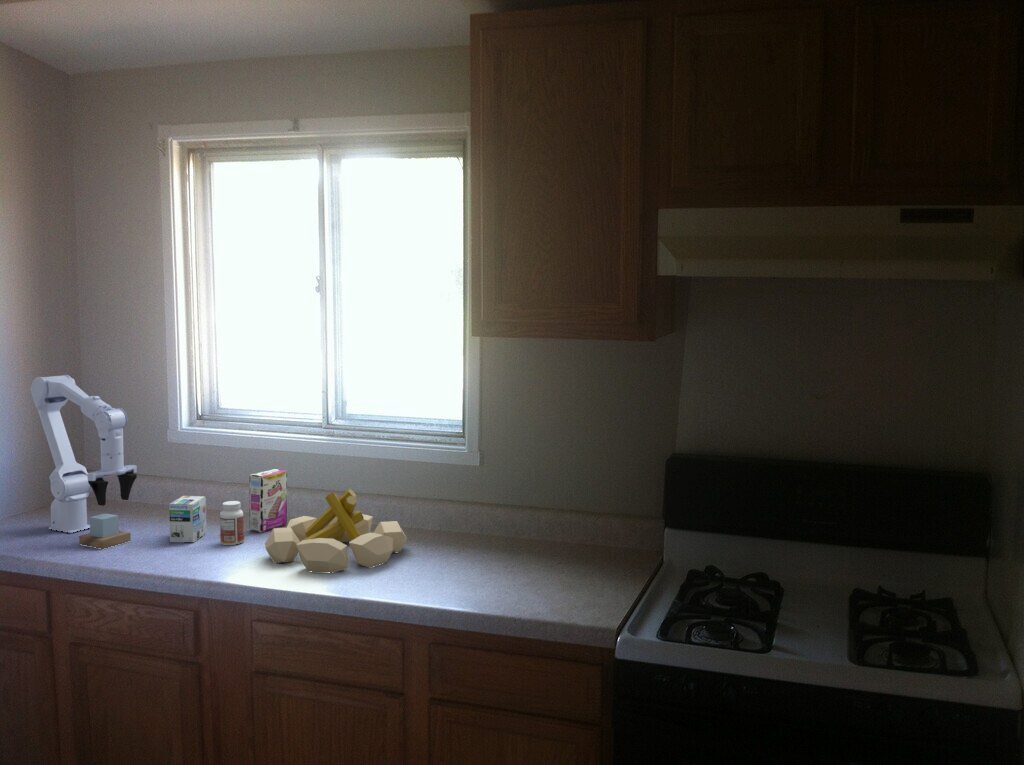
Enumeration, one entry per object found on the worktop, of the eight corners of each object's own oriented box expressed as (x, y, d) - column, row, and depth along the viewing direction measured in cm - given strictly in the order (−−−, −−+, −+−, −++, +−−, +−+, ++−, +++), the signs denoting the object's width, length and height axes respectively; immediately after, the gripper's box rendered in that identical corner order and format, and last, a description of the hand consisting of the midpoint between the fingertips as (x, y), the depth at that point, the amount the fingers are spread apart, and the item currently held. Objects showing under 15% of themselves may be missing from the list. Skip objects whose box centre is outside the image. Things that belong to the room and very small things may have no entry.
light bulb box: (193, 543, 255) (192, 504, 253) (169, 543, 255) (168, 503, 254) (207, 533, 265) (206, 495, 264) (183, 532, 265) (182, 495, 264)
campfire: (429, 552, 250) (430, 488, 249) (339, 583, 222) (339, 513, 221) (334, 531, 270) (334, 473, 268) (240, 558, 242) (239, 493, 240)
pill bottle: (238, 538, 260) (238, 499, 259) (247, 543, 255) (247, 503, 254) (216, 542, 256) (216, 502, 255) (225, 547, 251) (225, 506, 250)
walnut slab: (79, 546, 251) (79, 535, 251) (107, 539, 259) (107, 528, 259) (103, 551, 247) (102, 540, 247) (130, 543, 255) (130, 532, 255)
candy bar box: (262, 533, 265) (261, 476, 264) (248, 531, 268) (248, 474, 266) (288, 524, 275) (287, 469, 274) (274, 522, 278) (274, 468, 276)
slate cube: (90, 535, 252) (89, 517, 251) (106, 531, 256) (105, 513, 255) (103, 537, 249) (102, 519, 249) (118, 533, 254) (118, 515, 253)
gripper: (99, 459, 249) (100, 509, 250) (144, 451, 262) (145, 498, 263) (81, 456, 252) (83, 506, 253) (126, 448, 265) (127, 495, 266)
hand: (113, 502), depth 258 cm, fingers open, 7 cm apart
